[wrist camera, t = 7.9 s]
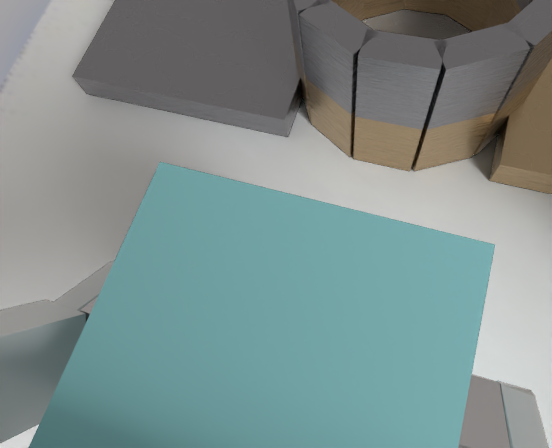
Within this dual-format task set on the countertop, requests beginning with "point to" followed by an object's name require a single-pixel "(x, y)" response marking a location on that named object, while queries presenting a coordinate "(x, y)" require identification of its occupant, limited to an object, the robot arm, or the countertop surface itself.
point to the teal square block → (272, 327)
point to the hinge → (344, 75)
